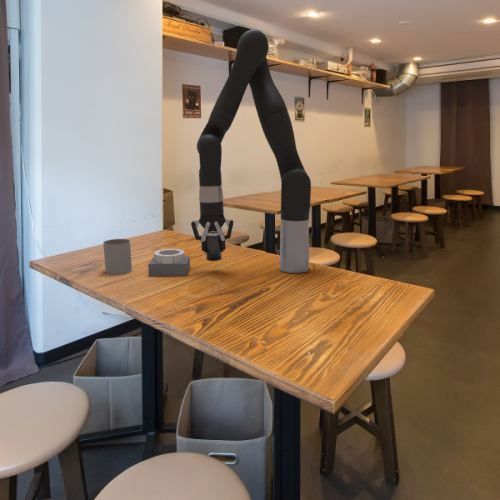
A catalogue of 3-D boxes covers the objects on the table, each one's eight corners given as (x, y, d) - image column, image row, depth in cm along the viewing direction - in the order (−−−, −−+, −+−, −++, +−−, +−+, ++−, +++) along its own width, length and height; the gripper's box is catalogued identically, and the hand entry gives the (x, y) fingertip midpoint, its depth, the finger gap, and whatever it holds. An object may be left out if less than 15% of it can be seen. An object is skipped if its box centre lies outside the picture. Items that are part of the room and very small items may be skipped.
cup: (124, 275, 138) (122, 245, 135) (100, 274, 139) (98, 244, 137) (136, 268, 146) (134, 239, 143) (113, 266, 147) (111, 238, 145)
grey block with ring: (189, 266, 147) (189, 248, 146) (186, 275, 138) (186, 256, 136) (154, 267, 147) (153, 248, 145) (148, 276, 137) (147, 256, 136)
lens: (222, 256, 144) (220, 230, 142) (221, 260, 139) (220, 233, 137) (206, 257, 144) (205, 230, 141) (205, 261, 139) (204, 233, 137)
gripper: (233, 197, 140) (235, 248, 145) (189, 199, 140) (192, 249, 144) (234, 200, 133) (235, 254, 137) (187, 202, 133) (190, 255, 137)
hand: (213, 251), depth 141 cm, fingers closed on lens, 5 cm apart
